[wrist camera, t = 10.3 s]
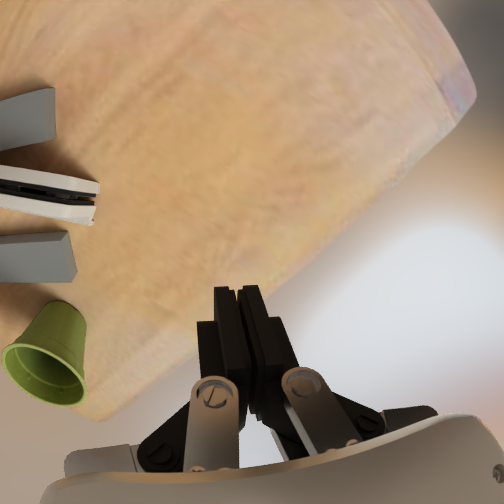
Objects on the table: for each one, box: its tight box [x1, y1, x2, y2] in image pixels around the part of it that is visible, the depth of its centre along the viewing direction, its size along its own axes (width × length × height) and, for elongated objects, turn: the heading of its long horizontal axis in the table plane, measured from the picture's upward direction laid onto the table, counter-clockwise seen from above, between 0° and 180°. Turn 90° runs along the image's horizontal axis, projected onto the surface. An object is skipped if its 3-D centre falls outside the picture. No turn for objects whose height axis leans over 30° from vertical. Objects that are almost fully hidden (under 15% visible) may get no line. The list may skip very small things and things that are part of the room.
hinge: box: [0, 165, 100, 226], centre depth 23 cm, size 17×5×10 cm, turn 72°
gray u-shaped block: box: [0, 88, 77, 283], centre depth 24 cm, size 22×15×4 cm
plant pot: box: [2, 301, 88, 407], centre depth 31 cm, size 12×12×11 cm
